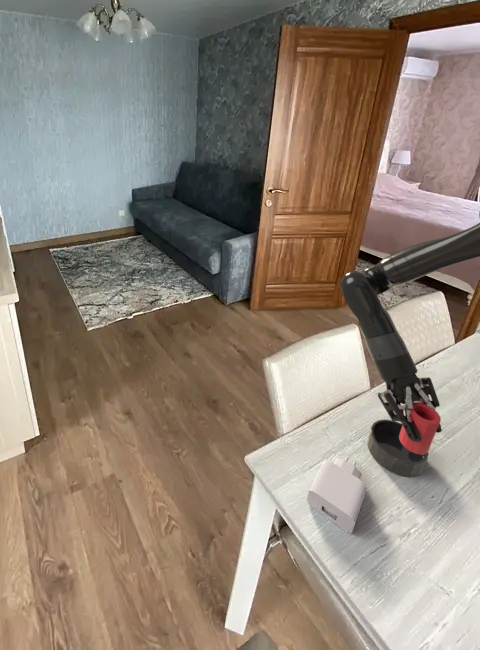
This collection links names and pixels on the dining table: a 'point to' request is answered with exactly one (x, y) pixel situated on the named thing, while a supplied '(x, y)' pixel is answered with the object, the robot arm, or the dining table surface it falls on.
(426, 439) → the red cup
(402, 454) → the pan
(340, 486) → the charger
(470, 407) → the dining table surface
